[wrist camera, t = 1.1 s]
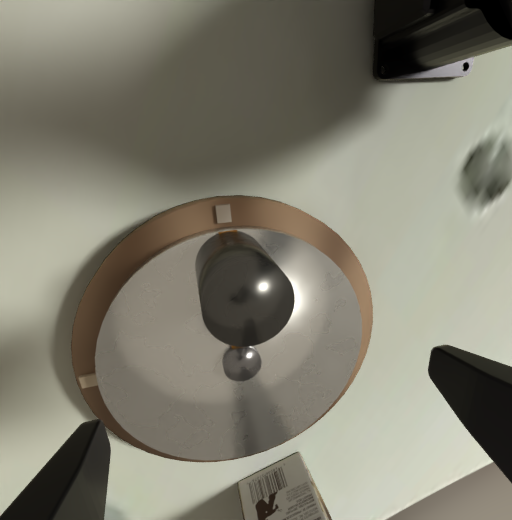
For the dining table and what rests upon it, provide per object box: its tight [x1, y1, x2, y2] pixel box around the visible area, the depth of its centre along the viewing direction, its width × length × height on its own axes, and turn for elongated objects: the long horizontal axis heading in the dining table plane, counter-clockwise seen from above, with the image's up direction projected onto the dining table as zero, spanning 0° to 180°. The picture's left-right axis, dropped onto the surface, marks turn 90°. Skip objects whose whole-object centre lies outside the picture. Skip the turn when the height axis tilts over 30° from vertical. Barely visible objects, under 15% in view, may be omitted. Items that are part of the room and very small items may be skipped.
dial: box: [95, 225, 362, 460], centre depth 18 cm, size 17×17×6 cm
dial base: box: [71, 195, 373, 462], centre depth 22 cm, size 20×20×2 cm
